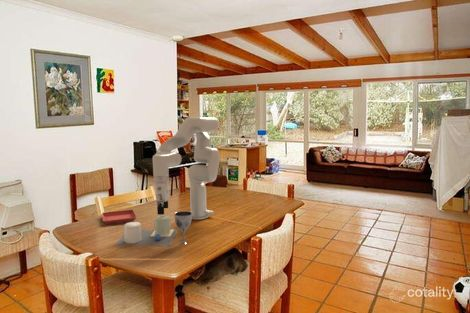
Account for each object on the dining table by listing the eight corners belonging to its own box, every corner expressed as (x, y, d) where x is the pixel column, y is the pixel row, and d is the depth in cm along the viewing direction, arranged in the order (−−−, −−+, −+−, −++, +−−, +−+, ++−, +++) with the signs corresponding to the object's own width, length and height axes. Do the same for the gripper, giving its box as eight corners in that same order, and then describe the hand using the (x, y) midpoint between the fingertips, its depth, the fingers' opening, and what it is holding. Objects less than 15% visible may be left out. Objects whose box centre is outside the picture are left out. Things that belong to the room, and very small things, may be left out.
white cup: (143, 237, 163) (142, 221, 162) (138, 243, 156) (137, 226, 155) (127, 237, 163) (127, 221, 162) (122, 243, 156) (122, 226, 155)
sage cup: (171, 230, 173) (171, 215, 172) (168, 235, 166) (168, 219, 165) (157, 230, 173) (156, 215, 172) (153, 235, 166) (153, 219, 165)
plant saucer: (102, 217, 198) (101, 212, 198) (133, 214, 205) (133, 209, 205) (103, 226, 182) (102, 221, 181) (136, 222, 189) (136, 217, 189)
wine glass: (175, 241, 160) (175, 211, 158) (192, 240, 161) (192, 210, 159) (174, 247, 152) (173, 216, 150) (191, 247, 153) (191, 215, 151)
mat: (177, 230, 174) (177, 229, 174) (169, 246, 154) (169, 244, 153) (128, 230, 175) (128, 229, 174) (114, 246, 154) (114, 244, 154)
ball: (161, 239, 161) (161, 232, 161) (160, 241, 158) (160, 235, 157) (155, 239, 161) (155, 232, 161) (153, 241, 158) (153, 235, 158)
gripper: (165, 182, 158) (166, 216, 160) (172, 174, 175) (173, 205, 177) (149, 182, 158) (151, 217, 160) (158, 175, 175) (159, 206, 177)
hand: (163, 211), depth 169 cm, fingers open, 9 cm apart
